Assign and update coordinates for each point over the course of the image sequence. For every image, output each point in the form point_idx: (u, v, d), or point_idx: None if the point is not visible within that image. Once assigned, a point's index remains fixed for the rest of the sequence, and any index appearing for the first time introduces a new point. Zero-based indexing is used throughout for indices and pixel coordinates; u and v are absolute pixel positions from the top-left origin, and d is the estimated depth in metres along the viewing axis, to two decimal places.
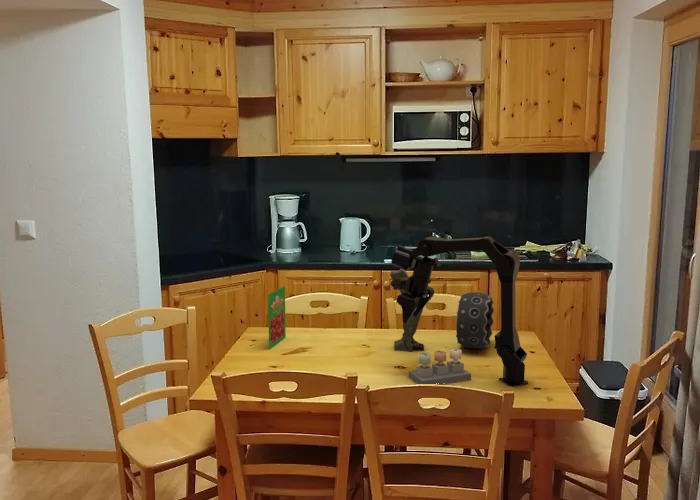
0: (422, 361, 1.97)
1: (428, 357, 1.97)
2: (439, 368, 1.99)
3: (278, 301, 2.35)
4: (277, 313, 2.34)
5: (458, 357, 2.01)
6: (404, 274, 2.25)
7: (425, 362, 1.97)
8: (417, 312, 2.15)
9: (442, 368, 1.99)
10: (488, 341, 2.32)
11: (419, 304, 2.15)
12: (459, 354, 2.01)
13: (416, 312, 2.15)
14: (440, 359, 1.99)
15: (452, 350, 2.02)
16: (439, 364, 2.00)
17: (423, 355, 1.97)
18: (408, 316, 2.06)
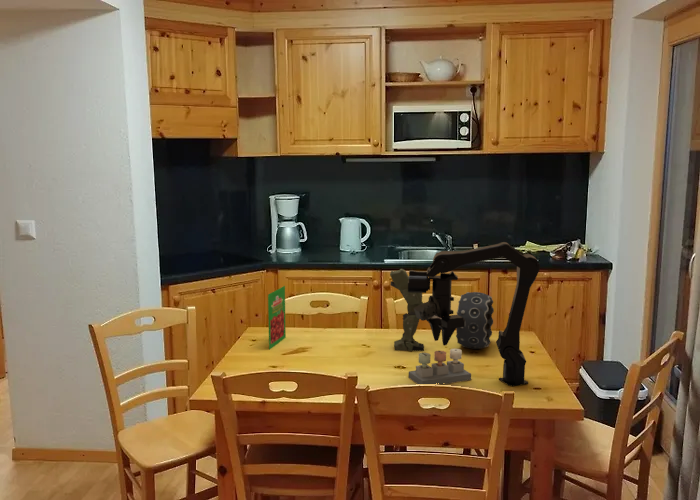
0: (422, 361, 1.97)
1: (428, 357, 1.97)
2: (439, 368, 1.99)
3: (278, 300, 2.35)
4: (277, 313, 2.34)
5: (458, 357, 2.01)
6: (404, 274, 2.25)
7: (425, 362, 1.97)
8: (438, 335, 2.02)
9: (442, 368, 1.99)
10: (488, 341, 2.32)
11: (437, 326, 2.02)
12: (459, 354, 2.01)
13: (437, 336, 2.02)
14: (440, 359, 1.99)
15: (452, 350, 2.02)
16: (439, 364, 2.00)
17: (423, 355, 1.97)
18: (450, 336, 1.96)
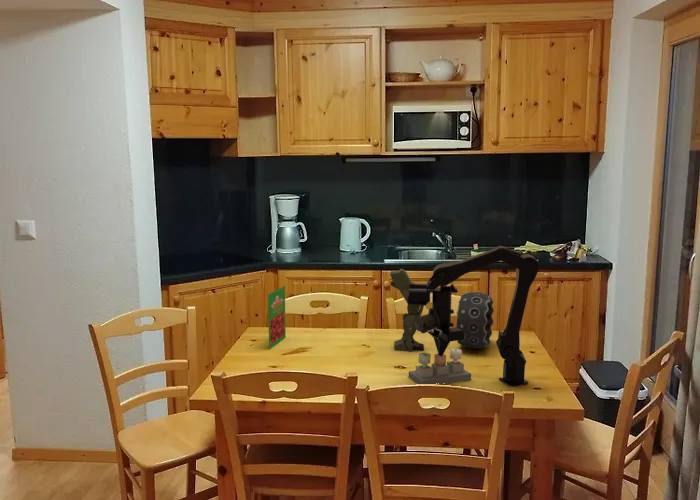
0: (422, 361, 1.97)
1: (428, 357, 1.97)
2: (439, 368, 1.99)
3: (278, 301, 2.35)
4: (277, 313, 2.34)
5: (458, 357, 2.01)
6: (404, 274, 2.25)
7: (425, 362, 1.97)
8: None
9: (442, 368, 1.99)
10: (488, 341, 2.32)
11: None
12: (459, 354, 2.01)
13: None
14: (440, 362, 1.99)
15: (452, 350, 2.02)
16: None
17: (423, 355, 1.97)
18: (446, 346, 1.99)
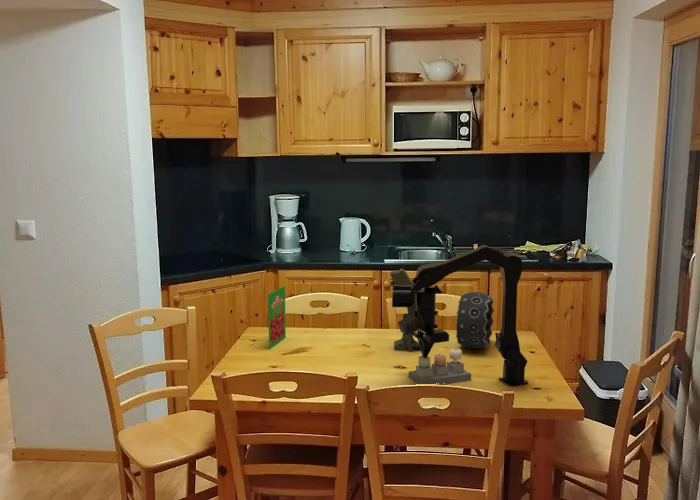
0: (422, 364, 1.97)
1: (428, 360, 1.97)
2: (439, 368, 1.99)
3: (278, 301, 2.35)
4: (277, 313, 2.34)
5: (458, 357, 2.01)
6: (404, 274, 2.25)
7: (425, 365, 1.97)
8: None
9: (442, 368, 1.99)
10: (488, 341, 2.32)
11: None
12: (459, 354, 2.01)
13: None
14: (440, 363, 1.99)
15: (452, 350, 2.02)
16: None
17: (423, 358, 1.97)
18: (430, 348, 1.97)
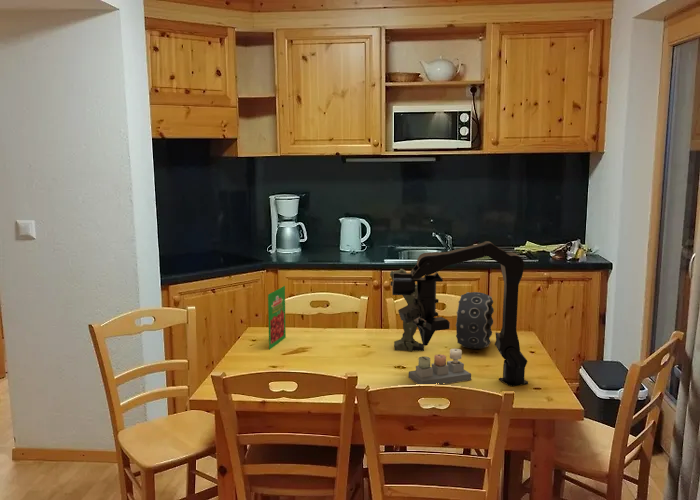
0: (422, 365, 1.97)
1: (428, 361, 1.97)
2: (439, 368, 1.99)
3: (278, 301, 2.35)
4: (277, 313, 2.34)
5: (458, 357, 2.01)
6: None
7: (425, 366, 1.97)
8: None
9: (442, 368, 1.99)
10: (488, 341, 2.32)
11: None
12: (459, 354, 2.01)
13: None
14: (440, 363, 1.99)
15: (452, 350, 2.02)
16: None
17: (423, 359, 1.97)
18: (430, 336, 1.96)
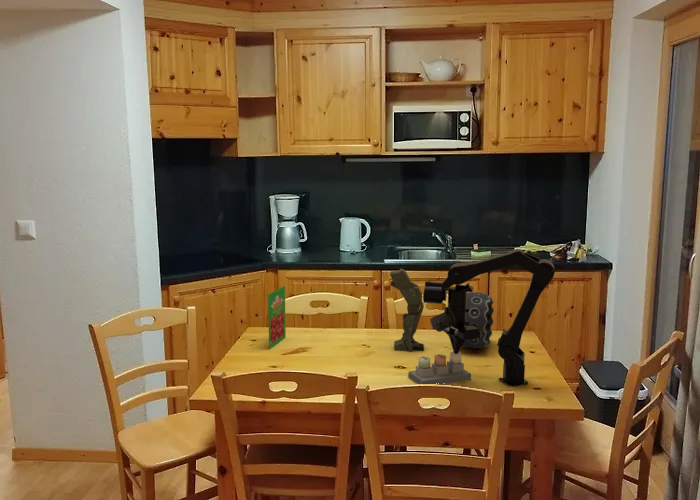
0: (422, 365, 1.97)
1: (428, 361, 1.97)
2: (439, 368, 1.99)
3: (278, 301, 2.35)
4: (277, 313, 2.34)
5: (458, 360, 2.01)
6: (404, 274, 2.25)
7: (425, 366, 1.97)
8: None
9: (442, 368, 1.99)
10: (488, 341, 2.32)
11: None
12: (459, 357, 2.01)
13: None
14: (440, 363, 1.99)
15: (452, 353, 2.02)
16: None
17: (423, 359, 1.97)
18: (461, 345, 2.01)
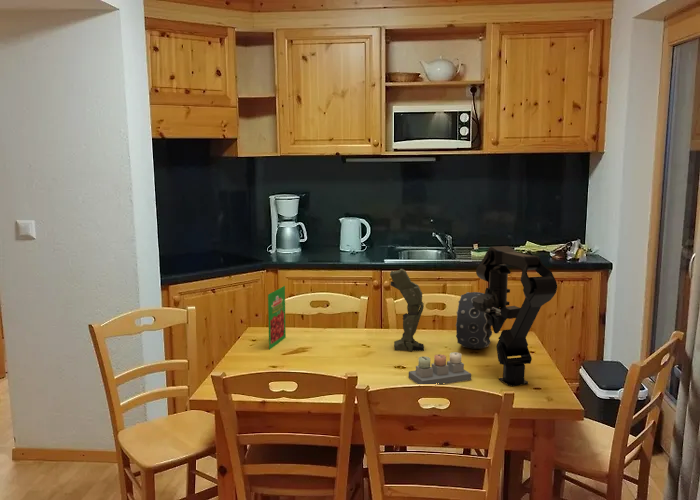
0: (422, 365, 1.97)
1: (428, 361, 1.97)
2: (439, 368, 1.99)
3: (278, 301, 2.35)
4: (277, 313, 2.34)
5: (458, 361, 2.01)
6: (404, 274, 2.25)
7: (425, 366, 1.97)
8: None
9: (442, 368, 1.99)
10: (488, 341, 2.32)
11: None
12: (459, 357, 2.01)
13: None
14: (440, 363, 1.99)
15: (452, 354, 2.02)
16: None
17: (423, 359, 1.97)
18: (501, 324, 2.07)
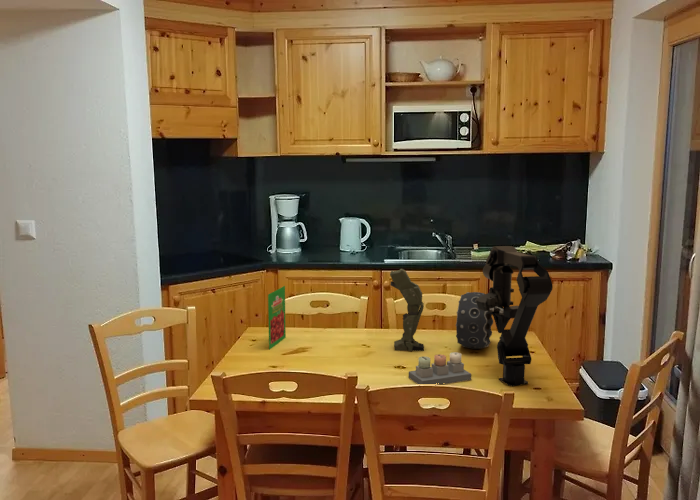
0: (422, 365, 1.97)
1: (428, 361, 1.97)
2: (439, 368, 1.99)
3: (278, 301, 2.35)
4: (277, 313, 2.34)
5: (458, 361, 2.01)
6: (404, 274, 2.25)
7: (425, 366, 1.97)
8: None
9: (442, 368, 1.99)
10: (488, 341, 2.32)
11: None
12: (459, 357, 2.01)
13: None
14: (440, 363, 1.99)
15: (452, 354, 2.02)
16: None
17: (423, 359, 1.97)
18: (505, 324, 2.08)
